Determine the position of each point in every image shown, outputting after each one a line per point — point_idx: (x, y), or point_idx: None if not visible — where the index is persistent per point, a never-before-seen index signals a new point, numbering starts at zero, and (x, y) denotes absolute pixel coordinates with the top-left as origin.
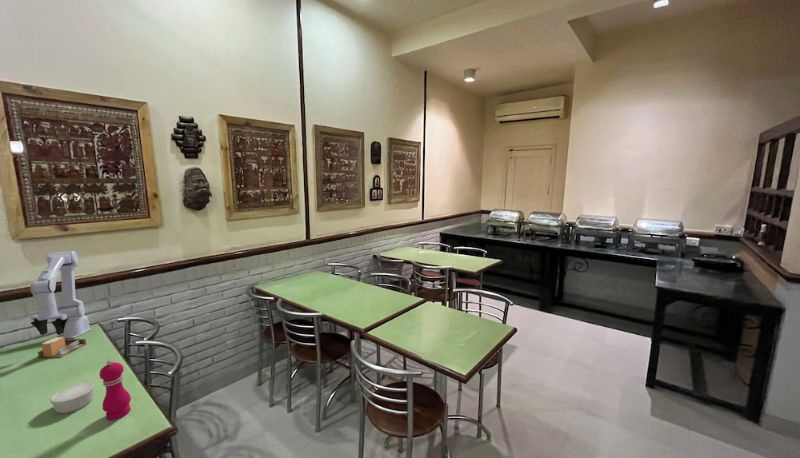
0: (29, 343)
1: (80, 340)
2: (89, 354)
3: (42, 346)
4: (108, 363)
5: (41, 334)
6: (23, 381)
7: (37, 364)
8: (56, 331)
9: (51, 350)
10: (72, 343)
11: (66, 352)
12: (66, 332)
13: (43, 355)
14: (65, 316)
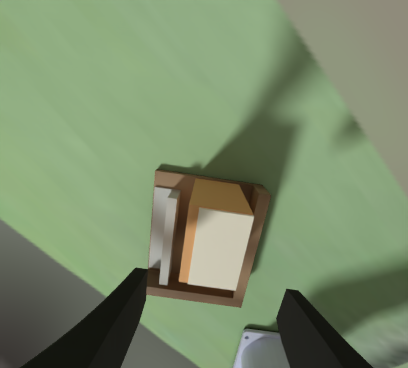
0: (401, 317)
1: (157, 285)
2: (44, 177)
3: (245, 205)
4: None
5: (295, 293)
6: None
7: (216, 118)
8: (129, 294)
9: (193, 188)
10: (163, 259)
11: (156, 202)
12: (283, 362)
13: (249, 194)
14: None
